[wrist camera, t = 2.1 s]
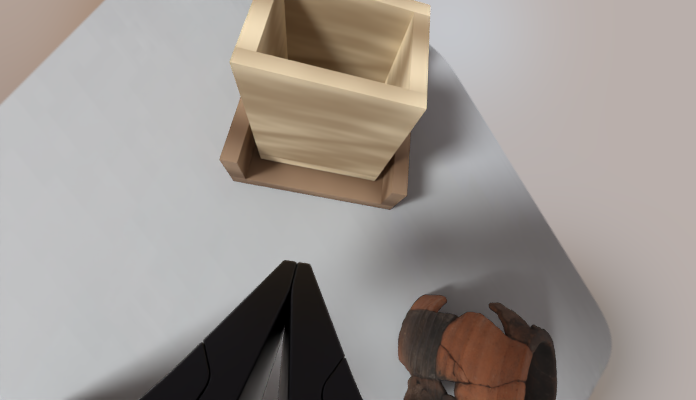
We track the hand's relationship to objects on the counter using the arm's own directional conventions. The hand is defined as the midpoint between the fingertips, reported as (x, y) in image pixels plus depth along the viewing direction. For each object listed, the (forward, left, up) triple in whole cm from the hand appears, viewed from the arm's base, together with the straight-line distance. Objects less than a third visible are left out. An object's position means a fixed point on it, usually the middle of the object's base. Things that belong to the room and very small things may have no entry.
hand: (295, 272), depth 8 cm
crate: (+11, +7, -12) cm, 17 cm away
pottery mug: (+3, -13, -13) cm, 19 cm away
